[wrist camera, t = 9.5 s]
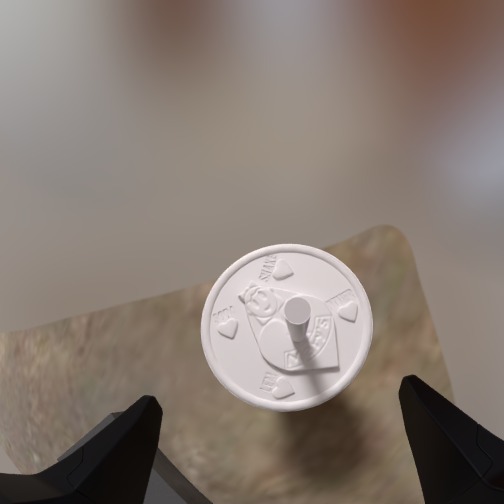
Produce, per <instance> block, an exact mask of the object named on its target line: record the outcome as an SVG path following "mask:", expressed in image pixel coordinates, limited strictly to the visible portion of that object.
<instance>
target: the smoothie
mask: <svg viewBox="0 0 504 504" xmlns="http://www.w3.org/2000/svg"><path fill="white" fill-rule="evenodd" d="M372 330H373V321H372V312H371V307H370V304H369V300H368V297H367V295H366V292H365V290H364V288H363V287H362V285H361V283H360V282H359V280H358V279H357V277H356V276H355V275H354V273H353V272H352V271H351V270H350V269H349V268H348V267H347V266H346V265H345V264H343V263H342V262H341V261H340V260H338V259H337V258H335V257H334V256H332V255H330V254H328V253H327V252H324V251H322V250H320V249H317V248H314V247H309V246H305V245H299V244H279V245H272V246H268V247H264V248H261V249H258V250H255V251H253V252H251V253H249V254H247V255H245V256H243V257H242V258H240V259H239V260H237V261H236V262H235V263H233V264H232V265H231V266H230V267H229V268H228V269H227V270H225V271H224V273H223V274H222V275H221V276H220V277H219V279H218V280H217V281H216V283H215V284H214V286H213V288H212V289H211V291H210V293H209V295H208V297H207V300H206V303H205V306H204V310H203V314H202V320H201V339H202V346H203V350H204V354H205V356H206V359H207V362H208V364H209V366H210V368H211V370H212V371H213V373H214V375H215V376H216V377H217V379H218V380H219V381H220V383H221V384H222V385H223V386H224V387H225V388H226V389H227V390H228V391H230V392H231V393H232V394H233V395H235V396H236V397H238V398H239V399H241V400H243V401H244V402H246V403H248V404H251V405H253V406H255V407H259V408H262V409H266V410H271V411H280V412H289V411H299V410H304V409H308V408H311V407H314V406H317V405H320V404H322V403H324V402H326V401H328V400H329V399H331V398H333V397H334V396H336V395H337V394H338V393H340V392H341V391H342V390H343V389H344V388H346V387H347V386H348V385H349V384H350V382H351V381H352V380H353V379H354V378H355V376H356V375H357V374H358V372H359V371H360V369H361V367H362V366H363V364H364V362H365V359H366V357H367V354H368V351H369V348H370V344H371V339H372Z"/></svg>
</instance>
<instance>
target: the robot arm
mask: <svg viewBox="0 0 504 504" xmlns="http://www.w3.org/2000/svg"><path fill="white" fill-rule="evenodd" d="M399 400H400V405H401V410H402V415H403V420H404V425H405V430H406V434H407V437H408V440H409V444H410V447H411V450H412V454H413V457H414V461H415V464H416V468H417V472H418V476H419V479H420V483H421V488H422V492H423V496H424V500H425V504H504V441H503V440H502V439H500V438H498V437H497V436H495V435H494V434H492V433H491V432H489V431H488V430H487V429H485V428H484V427H482V426H481V425H480V424H478V423H477V422H476V421H475V420H473V419H472V418H471V417H469V416H468V415H467V414H465V413H464V412H463V411H462V410H460V409H459V408H458V407H456V406H455V405H454V404H452V403H451V402H450V401H448V400H447V399H446V398H444V397H443V396H442V395H441V394H439V393H438V392H437V391H435V390H434V389H433V388H431V387H430V386H429V385H427V384H426V383H425V382H424V381H422V380H421V379H420V378H418V377H417V376H416V375H409V376H405V377H404V378H403V379H402V382H401V385H400V389H399ZM162 415H163V411H162V408H161V406H160V405H159V403H158V401H157V400H156V398H155V397H154V396H150V395H144V396H142V397H141V398H140V399H139V400H137V401H136V402H135V403H134V404H133V405H131V406H130V407H129V408H128V409H127V410H125V411H124V412H123V413H122V414H121V415H119V416H118V417H117V418H116V419H115V420H113V421H112V422H111V423H110V424H108V425H107V426H106V427H105V428H103V429H102V430H101V431H100V432H99V433H97V434H96V435H95V436H94V437H92V438H91V439H90V440H88V441H87V442H86V443H85V444H84V445H82V446H81V447H79V448H78V449H77V450H76V451H74V452H73V453H71V454H70V455H69V456H67V457H66V458H64V459H62V460H61V461H59V462H58V463H56V464H54V465H52V466H51V467H49V468H47V469H46V470H44V471H42V472H40V473H37V474H33V475H21V474H6V473H0V504H143V503H144V499H145V495H146V491H147V487H148V482H149V478H150V474H151V471H152V467H153V463H154V459H155V455H156V451H157V447H158V442H159V435H160V428H161V421H162Z"/></svg>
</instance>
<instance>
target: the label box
mask: <svg viewBox="0 0 504 504" xmlns="http://www.w3.org/2000/svg"><path fill="white" fill-rule="evenodd" d="M123 412H124V411H123ZM123 412H116V413H111V414H110V415H108V416H107V417H106V418H105V419H104V420H103V421H102V422H100V423H99V424H98V425H97V426H96V427H95V428H93V429H92V430H91V431H90V432H89V433H88V434H86V435H85V436H84V437H83V438H82V439H81V440H79V441H78V442H77V443H76V444H75V445H73V446H72V447H71V448H70V449H69V450H67V451H66V452H65V453H64V454H63V455H62V456H60V457H59V458H58V459H57V460H58V462H59V461H61V460H62V459H64V458H66V457H67V456H69V455H70V454H71V453H73V452H74V451H76V450H77V449H78V448H79V447H81V446H82V445H84V444H85V443H86V442H87V441H88V440H90V439H91V438H92V437H94V436H95V435H96V434H97V433H99V432H100V431H101V430H102V429H103V428H105V427H106V426H107V425H108V424H110V423H111V422H112V421H113V420H115V419H116V418H117V417H118V416H119V415H121V414H122V413H123ZM143 504H213V503H212V502H210V501H209V500H208V499H207V498H206V497H205V496H204V495H203V494H202V493H201V492H199V491H198V490H197V489H196V488H195V487H194V486H193V485H192V484H191V483H190V482H189V481H188V480H187V479H186V478H185V477H184V476H183V475H182V474H181V473H180V472H179V471H178V470H177V469H176V467H175V466H174V465H173V464H172V463H171V462H170V461H169V460H168V459H167V458H166V456H165V455H164V454H163V453H162V452H161V451H160V450H159V448H158V447H157V451H156V455H155V459H154V463H153V467H152V471H151V474H150V478H149V482H148V487H147V491H146V495H145V499H144V503H143Z"/></svg>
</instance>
